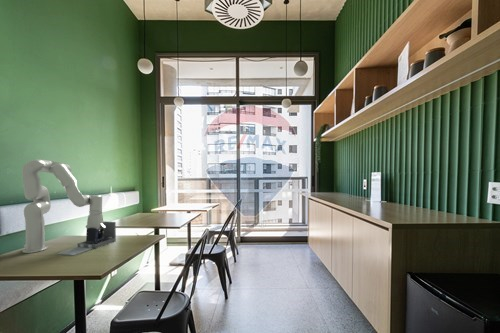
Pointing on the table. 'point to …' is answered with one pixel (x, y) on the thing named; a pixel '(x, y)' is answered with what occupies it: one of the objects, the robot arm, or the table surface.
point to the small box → (93, 236)
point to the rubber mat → (75, 251)
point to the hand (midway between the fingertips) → (95, 237)
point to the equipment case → (108, 236)
